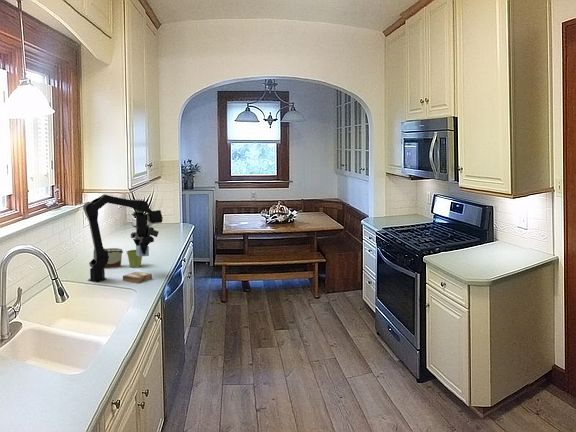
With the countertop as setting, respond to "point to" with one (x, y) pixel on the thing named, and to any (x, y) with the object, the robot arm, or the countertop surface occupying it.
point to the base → (137, 277)
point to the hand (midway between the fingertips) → (142, 253)
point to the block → (139, 251)
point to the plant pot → (134, 258)
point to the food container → (114, 258)
